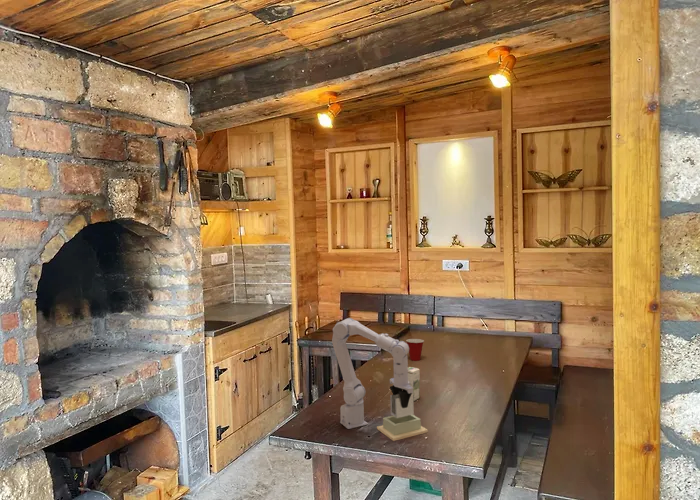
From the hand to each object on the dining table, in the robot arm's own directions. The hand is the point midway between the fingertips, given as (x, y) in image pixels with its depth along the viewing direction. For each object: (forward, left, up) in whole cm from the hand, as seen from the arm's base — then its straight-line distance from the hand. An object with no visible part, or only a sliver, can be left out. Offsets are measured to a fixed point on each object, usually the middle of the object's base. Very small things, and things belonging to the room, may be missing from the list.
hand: (401, 405), depth 210 cm
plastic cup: (+61, +82, -11) cm, 103 cm away
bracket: (0, 0, -4) cm, 4 cm away
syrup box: (+23, +28, -11) cm, 38 cm away
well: (0, 0, -10) cm, 10 cm away
